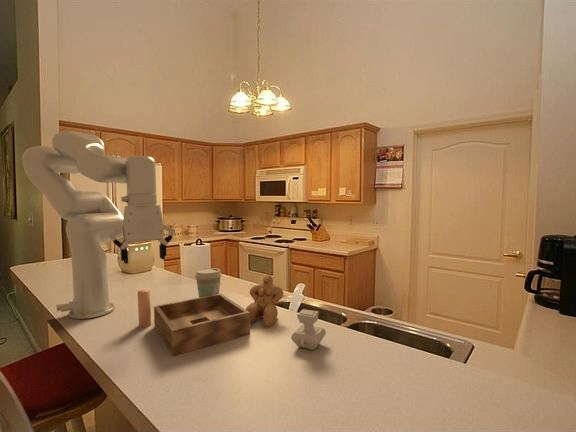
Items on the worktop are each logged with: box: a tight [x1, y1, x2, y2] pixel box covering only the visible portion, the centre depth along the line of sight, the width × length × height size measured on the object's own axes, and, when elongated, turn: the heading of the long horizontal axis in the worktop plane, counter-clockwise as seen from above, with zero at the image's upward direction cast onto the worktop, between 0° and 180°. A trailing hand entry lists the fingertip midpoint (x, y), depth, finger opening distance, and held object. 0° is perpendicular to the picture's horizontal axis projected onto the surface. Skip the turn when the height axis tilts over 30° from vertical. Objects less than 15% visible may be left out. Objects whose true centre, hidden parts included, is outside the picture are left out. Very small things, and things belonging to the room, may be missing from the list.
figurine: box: [245, 274, 284, 329], centre depth 96 cm, size 11×9×15 cm
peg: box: [137, 288, 152, 328], centre depth 92 cm, size 3×3×10 cm
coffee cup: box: [195, 267, 222, 298], centre depth 108 cm, size 9×8×12 cm
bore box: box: [153, 293, 251, 357], centre depth 88 cm, size 20×20×6 cm
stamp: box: [290, 308, 327, 351], centre depth 79 cm, size 9×7×8 cm
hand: (144, 260), depth 91 cm, fingers open, 9 cm apart
